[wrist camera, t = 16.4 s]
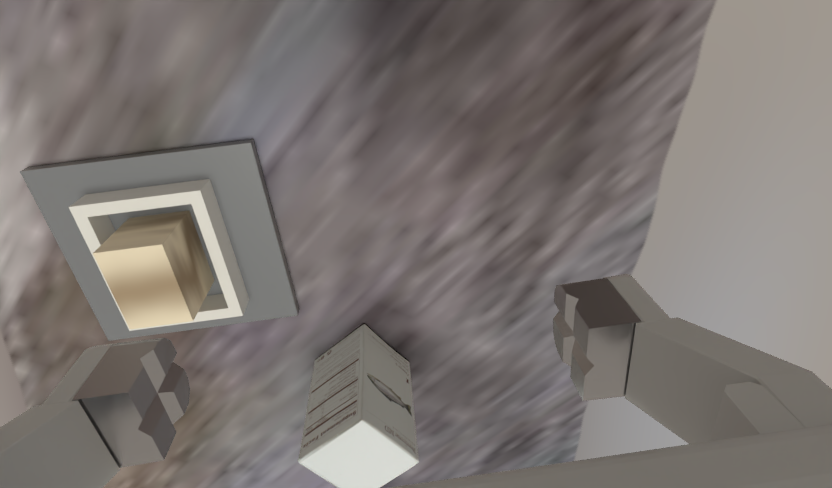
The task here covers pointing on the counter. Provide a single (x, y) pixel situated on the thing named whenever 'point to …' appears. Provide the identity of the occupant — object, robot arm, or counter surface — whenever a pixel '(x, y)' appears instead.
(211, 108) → the counter surface
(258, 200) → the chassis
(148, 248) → the tan cardboard carton
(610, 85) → the counter surface
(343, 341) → the supplement box
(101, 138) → the counter surface
